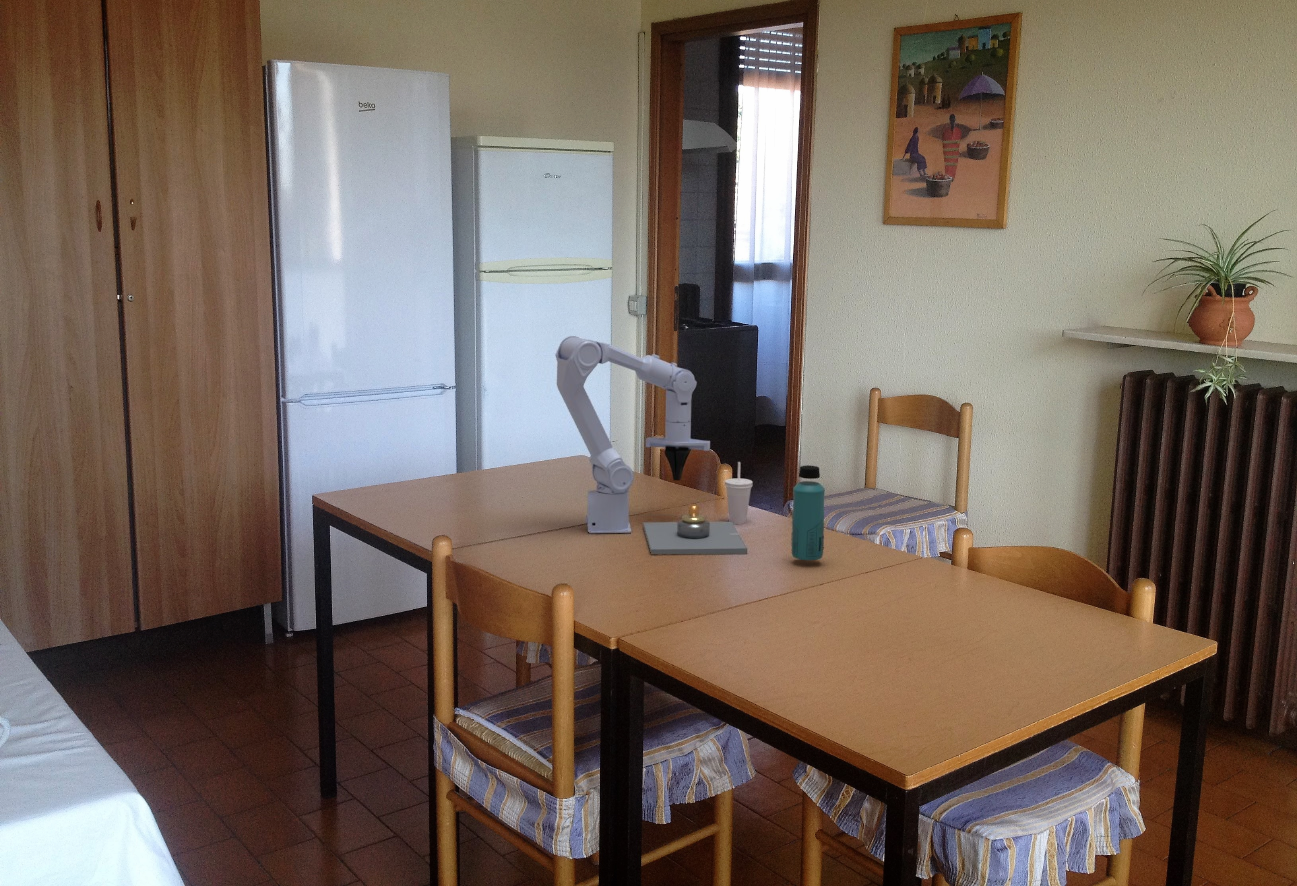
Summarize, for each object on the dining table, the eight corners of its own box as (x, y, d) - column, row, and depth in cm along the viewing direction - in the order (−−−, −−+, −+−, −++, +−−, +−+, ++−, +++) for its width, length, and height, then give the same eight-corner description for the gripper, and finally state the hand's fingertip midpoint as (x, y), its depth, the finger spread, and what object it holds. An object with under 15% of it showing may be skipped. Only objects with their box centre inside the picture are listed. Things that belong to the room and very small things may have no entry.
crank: (709, 538, 247) (710, 518, 246) (676, 537, 247) (677, 517, 246) (708, 523, 259) (709, 504, 258) (677, 523, 259) (677, 503, 258)
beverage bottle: (822, 568, 231) (826, 470, 227) (788, 566, 232) (792, 468, 228) (824, 559, 237) (827, 463, 233) (791, 557, 238) (794, 462, 235)
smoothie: (751, 519, 269) (753, 460, 266) (751, 526, 263) (753, 465, 260) (724, 518, 270) (725, 459, 267) (723, 525, 263) (724, 465, 261)
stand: (651, 555, 239) (651, 548, 239) (643, 527, 261) (643, 522, 260) (747, 553, 241) (747, 547, 240) (731, 526, 262) (731, 521, 262)
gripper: (713, 419, 264) (712, 478, 266) (651, 416, 267) (651, 473, 270) (706, 424, 257) (705, 484, 259) (643, 421, 261) (642, 480, 263)
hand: (677, 479), depth 264 cm, fingers closed
